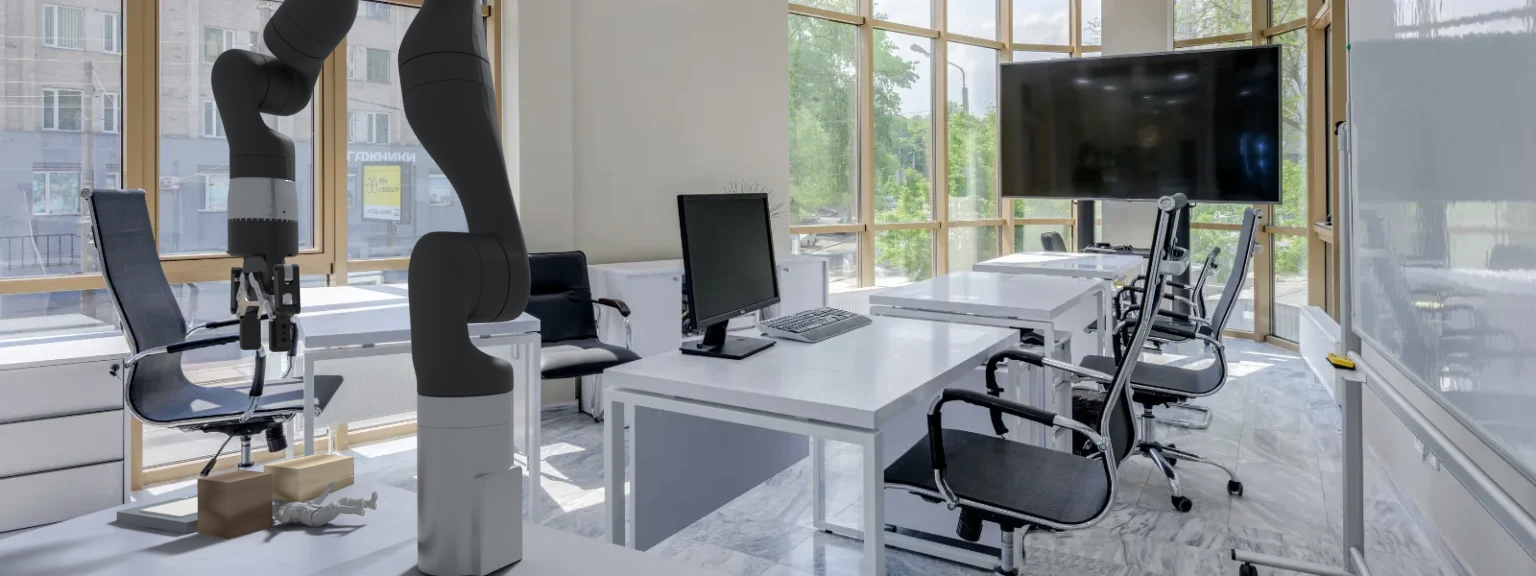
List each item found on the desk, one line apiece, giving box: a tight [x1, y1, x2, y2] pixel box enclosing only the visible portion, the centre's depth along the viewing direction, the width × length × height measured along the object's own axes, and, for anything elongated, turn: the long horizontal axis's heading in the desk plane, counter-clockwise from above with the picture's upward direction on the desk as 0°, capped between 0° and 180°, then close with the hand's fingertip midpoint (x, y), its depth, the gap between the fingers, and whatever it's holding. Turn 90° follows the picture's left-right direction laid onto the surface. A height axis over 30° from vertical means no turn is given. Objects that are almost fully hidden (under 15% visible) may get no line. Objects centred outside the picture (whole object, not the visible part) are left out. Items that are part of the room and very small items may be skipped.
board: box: [116, 493, 280, 535], centre depth 102 cm, size 12×11×1 cm
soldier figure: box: [272, 482, 379, 528], centre depth 98 cm, size 8×5×12 cm
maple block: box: [263, 453, 355, 503], centre depth 109 cm, size 6×8×5 cm
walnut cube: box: [197, 469, 274, 540], centre depth 96 cm, size 5×5×6 cm
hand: (264, 350), depth 107 cm, fingers open, 8 cm apart
